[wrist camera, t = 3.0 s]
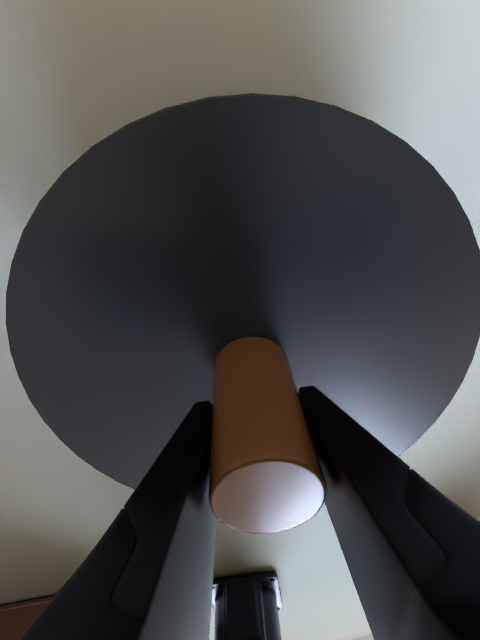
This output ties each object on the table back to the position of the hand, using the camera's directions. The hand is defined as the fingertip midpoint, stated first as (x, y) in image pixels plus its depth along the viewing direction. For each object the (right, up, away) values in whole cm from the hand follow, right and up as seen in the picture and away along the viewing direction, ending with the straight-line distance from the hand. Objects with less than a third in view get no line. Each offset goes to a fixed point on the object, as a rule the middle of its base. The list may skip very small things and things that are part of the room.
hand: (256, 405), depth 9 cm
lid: (0, +1, +2) cm, 2 cm away
